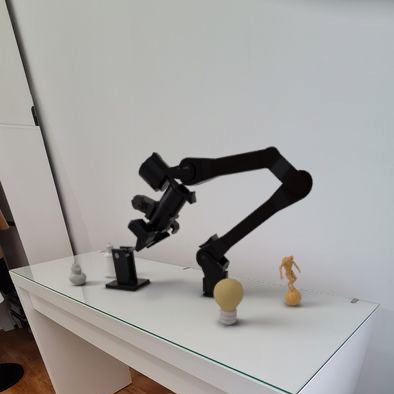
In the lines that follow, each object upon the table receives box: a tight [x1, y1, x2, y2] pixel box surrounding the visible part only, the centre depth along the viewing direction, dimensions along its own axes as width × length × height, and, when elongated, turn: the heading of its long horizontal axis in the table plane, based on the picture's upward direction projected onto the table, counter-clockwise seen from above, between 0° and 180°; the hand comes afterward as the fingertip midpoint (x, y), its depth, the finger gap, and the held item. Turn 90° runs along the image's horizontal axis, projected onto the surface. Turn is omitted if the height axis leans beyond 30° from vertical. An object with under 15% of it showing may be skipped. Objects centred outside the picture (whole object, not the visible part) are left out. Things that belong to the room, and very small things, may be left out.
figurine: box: [278, 254, 302, 307], centre depth 70 cm, size 8×6×12 cm
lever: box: [124, 244, 151, 257], centre depth 85 cm, size 11×5×2 cm, turn 66°
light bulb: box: [213, 277, 245, 326], centre depth 62 cm, size 6×6×10 cm
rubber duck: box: [68, 260, 87, 286], centre depth 94 cm, size 5×7×8 cm
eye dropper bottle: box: [102, 240, 117, 279], centre depth 99 cm, size 4×6×12 cm
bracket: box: [104, 245, 151, 292], centre depth 90 cm, size 11×9×12 cm
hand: (141, 249), depth 84 cm, fingers closed on lever, 5 cm apart
